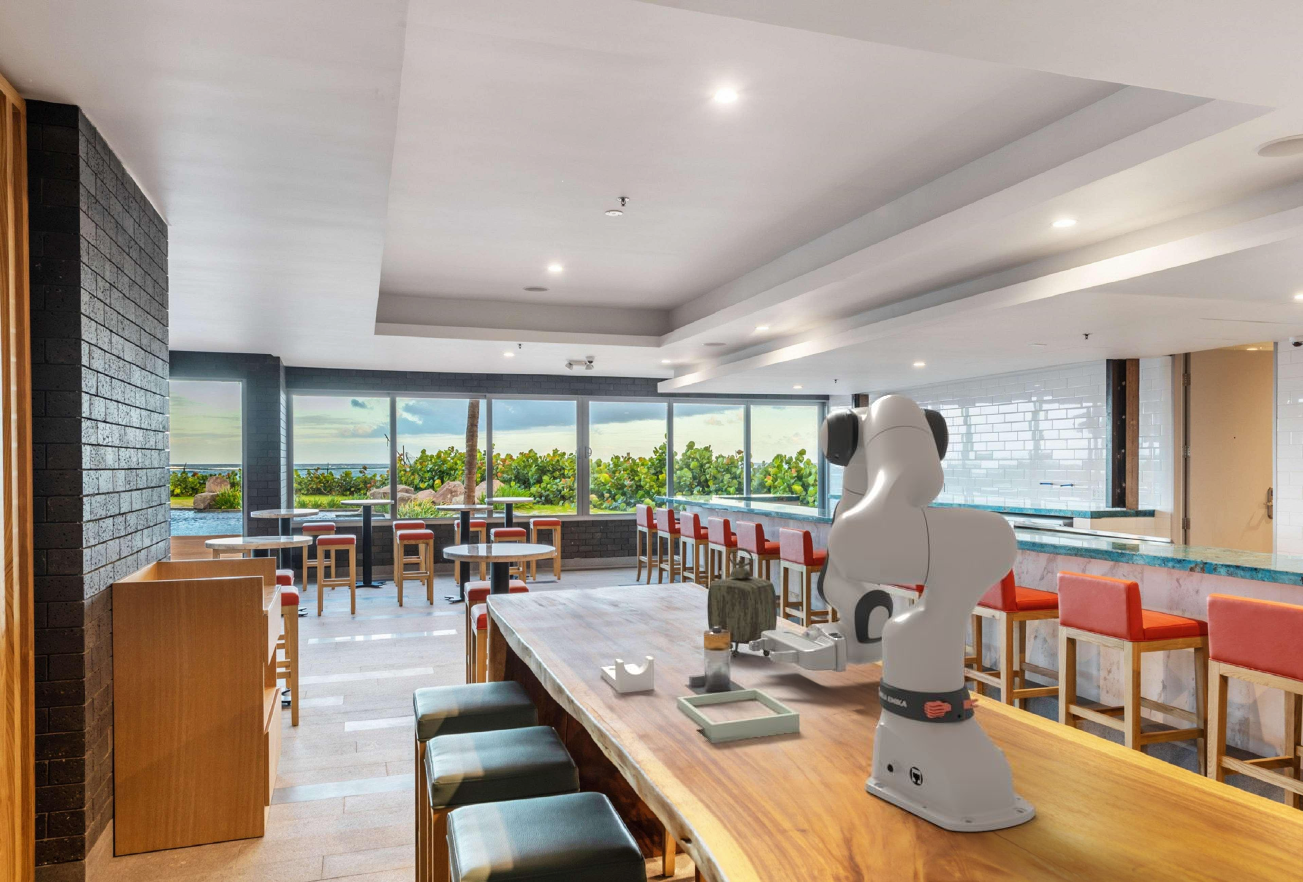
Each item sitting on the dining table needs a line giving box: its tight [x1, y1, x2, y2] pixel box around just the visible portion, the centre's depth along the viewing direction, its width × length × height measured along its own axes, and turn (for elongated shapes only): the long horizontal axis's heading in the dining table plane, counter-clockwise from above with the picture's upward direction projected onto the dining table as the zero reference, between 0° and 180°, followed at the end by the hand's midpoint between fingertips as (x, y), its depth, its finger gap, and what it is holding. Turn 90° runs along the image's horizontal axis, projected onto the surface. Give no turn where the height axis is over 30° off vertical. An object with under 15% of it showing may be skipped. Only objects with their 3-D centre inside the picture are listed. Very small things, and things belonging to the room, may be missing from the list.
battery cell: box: [703, 626, 732, 693], centre depth 157 cm, size 5×5×12 cm
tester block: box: [684, 673, 747, 695], centre depth 157 cm, size 10×10×3 cm
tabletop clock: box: [706, 547, 778, 658], centre depth 190 cm, size 14×9×25 cm, turn 47°
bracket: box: [600, 655, 655, 694], centre depth 163 cm, size 13×7×8 cm, turn 19°
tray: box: [676, 687, 801, 744], centre depth 142 cm, size 16×16×3 cm
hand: (760, 651), depth 160 cm, fingers open, 8 cm apart
